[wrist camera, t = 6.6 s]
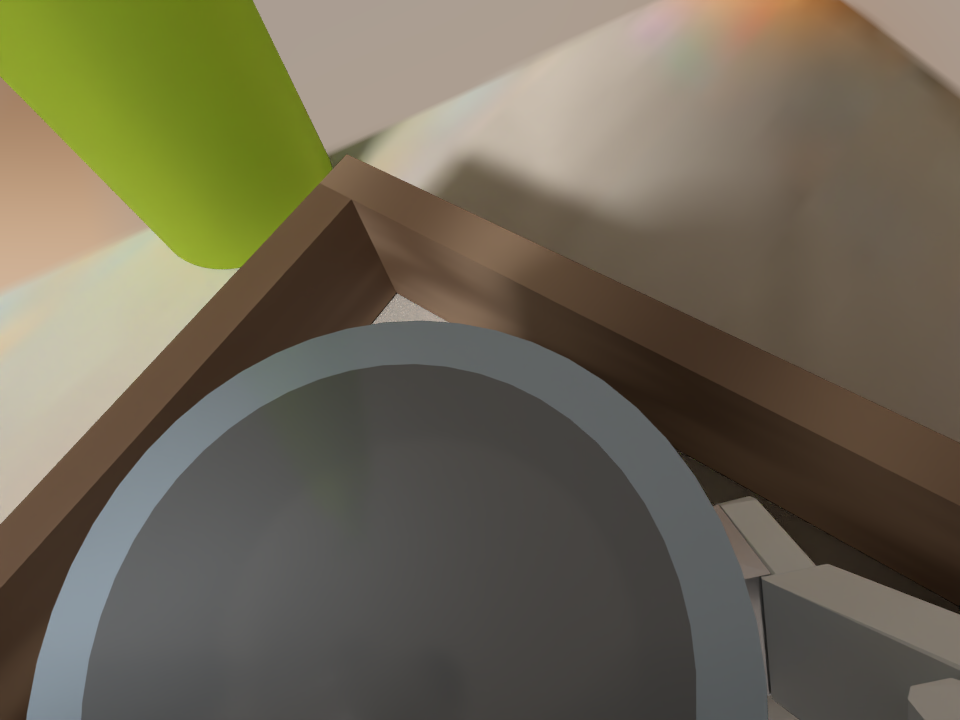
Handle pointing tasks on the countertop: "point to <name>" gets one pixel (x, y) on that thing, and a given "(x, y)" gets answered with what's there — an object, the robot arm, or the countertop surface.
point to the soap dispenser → (171, 113)
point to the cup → (406, 551)
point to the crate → (521, 313)
